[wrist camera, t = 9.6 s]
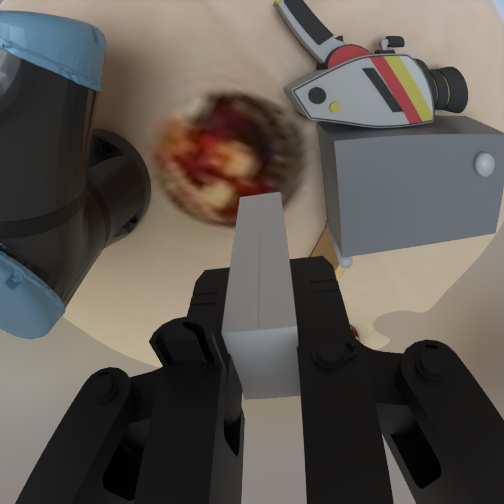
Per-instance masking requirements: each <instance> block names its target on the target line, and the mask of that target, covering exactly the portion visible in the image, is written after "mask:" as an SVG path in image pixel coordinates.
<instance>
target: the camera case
mask: <svg viewBox="0 0 504 504" xmlns="http://www.w3.org/2000/svg"><path fill="white" fill-rule="evenodd" d="M317 128H318V135H319V143H320V151H321V160H322V169H323V178H324V188H325V199H326V210H327V218H328V221H329V223H330V226H331V229H332V231H333V234H334V237H335V239H336V242H337V245H338V248H339V250H340V253H341V256H342V257H349V256H356V255H362V254H369V253H375V252H382V251H389V250H395V249H401V248H408V247H414V246H421V245H427V244H433V243H439V242H445V241H451V240H458V239H464V238H470V237H475V236H481V235H487V234H493V233H495V232H496V227H497V222H498V217H499V212H500V206H501V200H502V194H503V187H504V133H503V132H501V131H499V130H497V129H494V128H492V127H490V126H488V125H485V124H483V123H481V122H478V121H476V120H473V119H471V118H469V117H466V116H435V117H434V120H433V122H429V123H424V124H418V125H412V126H404V127H393V128H372V127H363V126H356V125H349V124H342V123H335V122H317Z"/></svg>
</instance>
